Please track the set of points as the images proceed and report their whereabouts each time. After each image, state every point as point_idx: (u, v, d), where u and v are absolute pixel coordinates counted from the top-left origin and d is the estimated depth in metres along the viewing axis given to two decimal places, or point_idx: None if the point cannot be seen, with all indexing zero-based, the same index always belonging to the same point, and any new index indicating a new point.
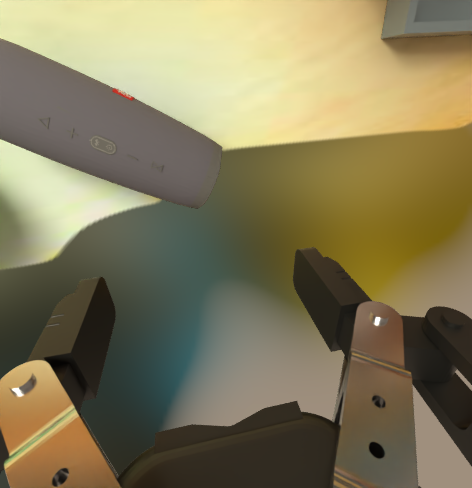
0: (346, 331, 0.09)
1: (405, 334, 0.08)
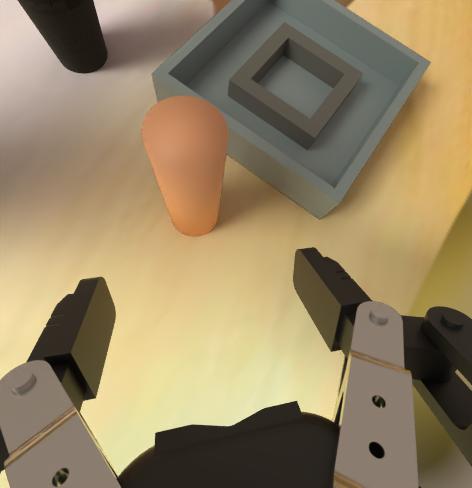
0: (346, 331, 0.09)
1: (405, 334, 0.08)
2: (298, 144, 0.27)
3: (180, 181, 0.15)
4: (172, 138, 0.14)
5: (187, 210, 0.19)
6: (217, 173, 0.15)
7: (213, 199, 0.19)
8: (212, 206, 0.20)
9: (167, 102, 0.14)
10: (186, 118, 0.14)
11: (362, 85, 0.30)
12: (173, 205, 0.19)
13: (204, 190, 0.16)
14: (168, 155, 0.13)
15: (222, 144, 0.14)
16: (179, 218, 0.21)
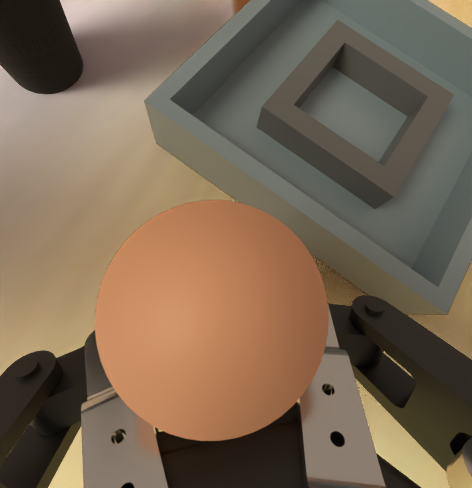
0: None
1: (333, 321, 0.08)
2: (360, 199, 0.19)
3: None
4: (181, 334, 0.05)
5: None
6: None
7: None
8: None
9: (166, 220, 0.05)
10: (218, 266, 0.05)
11: None
12: None
13: None
14: (170, 393, 0.05)
15: (314, 340, 0.05)
16: None
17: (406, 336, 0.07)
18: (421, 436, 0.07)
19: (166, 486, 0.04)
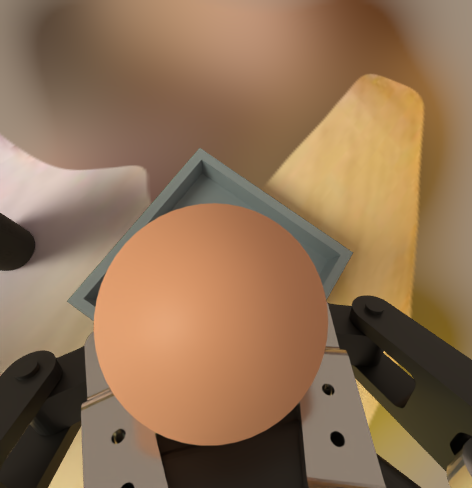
0: None
1: (333, 321, 0.08)
2: None
3: None
4: (180, 338, 0.05)
5: None
6: None
7: None
8: None
9: (165, 223, 0.05)
10: (217, 270, 0.05)
11: None
12: None
13: None
14: (169, 397, 0.05)
15: (314, 343, 0.05)
16: None
17: (406, 336, 0.07)
18: (421, 436, 0.07)
19: (166, 486, 0.04)
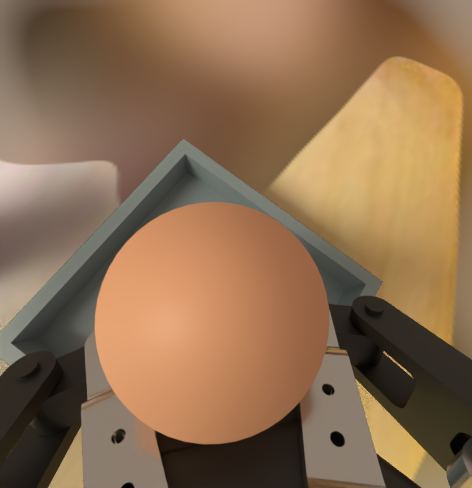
0: None
1: (333, 321, 0.08)
2: None
3: None
4: (181, 336, 0.05)
5: None
6: None
7: None
8: None
9: (166, 222, 0.05)
10: (218, 269, 0.05)
11: None
12: None
13: None
14: (170, 396, 0.05)
15: (315, 343, 0.05)
16: None
17: (406, 336, 0.07)
18: (421, 436, 0.07)
19: (166, 485, 0.04)
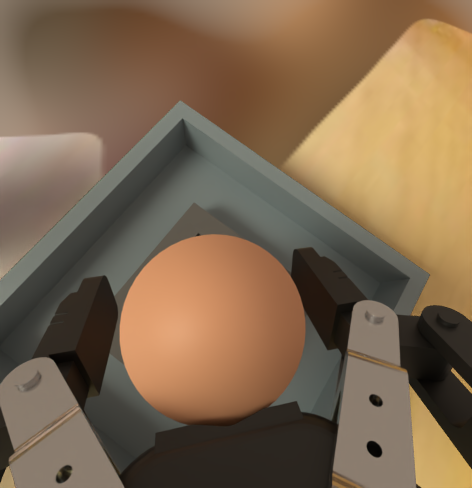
0: (342, 330, 0.09)
1: (401, 333, 0.08)
2: None
3: None
4: (187, 345, 0.06)
5: None
6: None
7: None
8: None
9: (174, 252, 0.07)
10: (216, 290, 0.07)
11: None
12: None
13: None
14: (179, 391, 0.06)
15: (294, 349, 0.06)
16: None
17: None
18: None
19: None
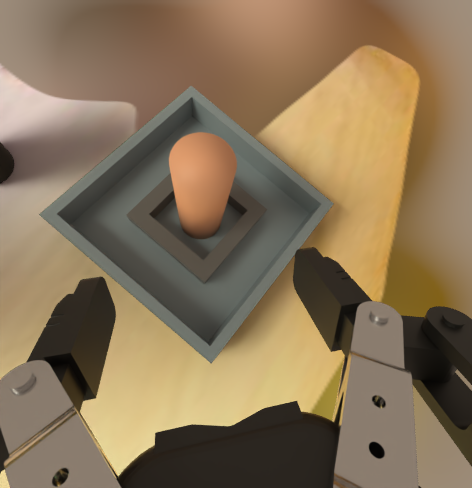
0: (346, 331, 0.09)
1: (405, 334, 0.08)
2: (195, 276, 0.28)
3: (196, 200, 0.18)
4: (193, 167, 0.17)
5: (197, 219, 0.22)
6: (225, 194, 0.19)
7: (219, 212, 0.22)
8: (218, 217, 0.23)
9: (189, 136, 0.18)
10: (204, 151, 0.18)
11: (272, 212, 0.31)
12: (186, 215, 0.22)
13: (213, 206, 0.20)
14: (189, 181, 0.17)
15: (231, 173, 0.18)
16: (189, 224, 0.25)
17: None
18: None
19: None
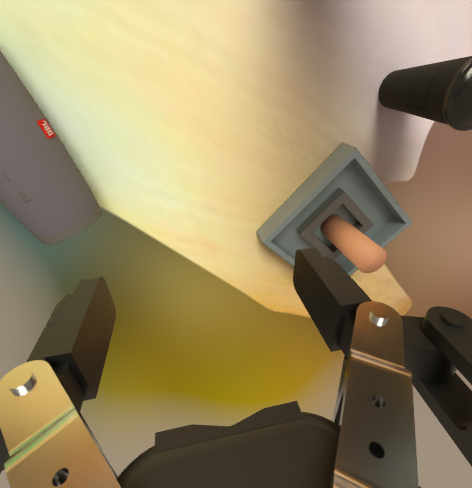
0: (346, 331, 0.09)
1: (405, 334, 0.08)
2: (300, 224, 0.48)
3: (355, 255, 0.40)
4: (371, 257, 0.39)
5: (340, 241, 0.44)
6: (354, 264, 0.42)
7: (342, 252, 0.44)
8: (338, 248, 0.45)
9: (385, 254, 0.39)
10: (377, 260, 0.40)
11: None
12: (343, 236, 0.43)
13: (348, 257, 0.42)
14: (365, 256, 0.39)
15: (365, 271, 0.40)
16: (334, 231, 0.45)
17: None
18: None
19: None
